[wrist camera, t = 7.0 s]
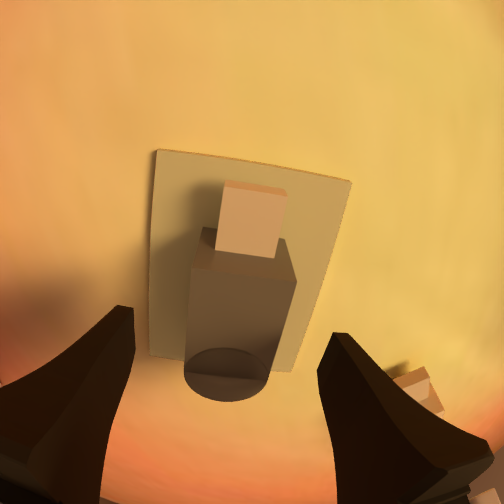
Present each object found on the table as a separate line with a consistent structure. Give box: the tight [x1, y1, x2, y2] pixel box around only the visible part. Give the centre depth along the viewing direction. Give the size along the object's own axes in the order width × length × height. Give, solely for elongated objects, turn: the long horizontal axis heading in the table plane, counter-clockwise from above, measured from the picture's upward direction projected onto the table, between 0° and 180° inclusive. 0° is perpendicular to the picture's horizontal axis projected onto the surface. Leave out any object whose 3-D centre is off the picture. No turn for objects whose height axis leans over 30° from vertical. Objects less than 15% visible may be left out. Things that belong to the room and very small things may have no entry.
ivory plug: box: [393, 366, 445, 419], centre depth 19 cm, size 9×4×4 cm, turn 20°
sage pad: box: [149, 149, 352, 372], centre depth 15 cm, size 11×8×1 cm
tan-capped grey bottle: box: [184, 179, 297, 402], centre depth 13 cm, size 9×4×4 cm, turn 170°
